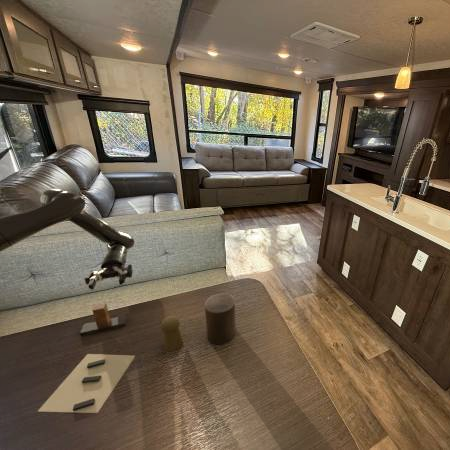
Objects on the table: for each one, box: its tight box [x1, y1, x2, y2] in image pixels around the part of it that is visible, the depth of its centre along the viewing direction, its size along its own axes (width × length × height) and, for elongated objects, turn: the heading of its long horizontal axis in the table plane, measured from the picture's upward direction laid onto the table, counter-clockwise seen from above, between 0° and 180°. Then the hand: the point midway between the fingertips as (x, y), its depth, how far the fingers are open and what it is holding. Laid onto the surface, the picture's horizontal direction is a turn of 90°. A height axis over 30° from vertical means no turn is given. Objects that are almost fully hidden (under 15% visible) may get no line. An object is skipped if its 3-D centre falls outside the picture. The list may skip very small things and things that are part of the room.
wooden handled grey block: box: [79, 302, 128, 337], centre depth 82 cm, size 12×4×10 cm, turn 116°
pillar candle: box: [204, 293, 237, 345], centre depth 84 cm, size 10×10×15 cm
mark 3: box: [73, 398, 95, 411], centre depth 61 cm, size 4×1×1 cm, turn 116°
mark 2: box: [82, 375, 101, 383], centre depth 67 cm, size 4×1×1 cm, turn 102°
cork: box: [160, 315, 185, 353], centre depth 78 cm, size 6×6×11 cm
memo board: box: [37, 353, 136, 414], centre depth 67 cm, size 14×16×1 cm
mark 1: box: [87, 359, 105, 369], centre depth 71 cm, size 4×1×1 cm, turn 116°
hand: (106, 285), depth 89 cm, fingers open, 8 cm apart
